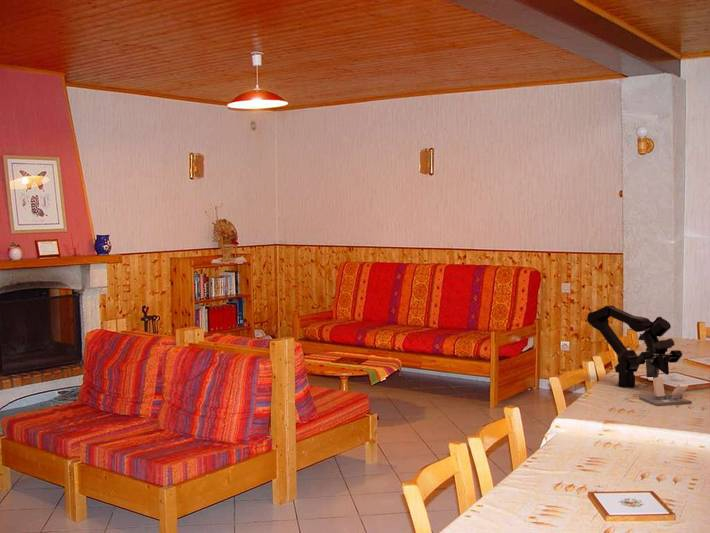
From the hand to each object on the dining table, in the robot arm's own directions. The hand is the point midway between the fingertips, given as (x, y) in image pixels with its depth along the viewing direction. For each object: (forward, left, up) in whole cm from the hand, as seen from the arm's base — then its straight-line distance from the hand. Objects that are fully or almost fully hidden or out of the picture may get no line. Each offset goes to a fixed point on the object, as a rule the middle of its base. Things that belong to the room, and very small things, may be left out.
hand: (667, 374), depth 341 cm
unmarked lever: (-3, -8, -8) cm, 12 cm away
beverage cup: (-3, +34, -10) cm, 35 cm away
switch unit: (0, -6, -10) cm, 12 cm away
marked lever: (+3, -4, -8) cm, 9 cm away
